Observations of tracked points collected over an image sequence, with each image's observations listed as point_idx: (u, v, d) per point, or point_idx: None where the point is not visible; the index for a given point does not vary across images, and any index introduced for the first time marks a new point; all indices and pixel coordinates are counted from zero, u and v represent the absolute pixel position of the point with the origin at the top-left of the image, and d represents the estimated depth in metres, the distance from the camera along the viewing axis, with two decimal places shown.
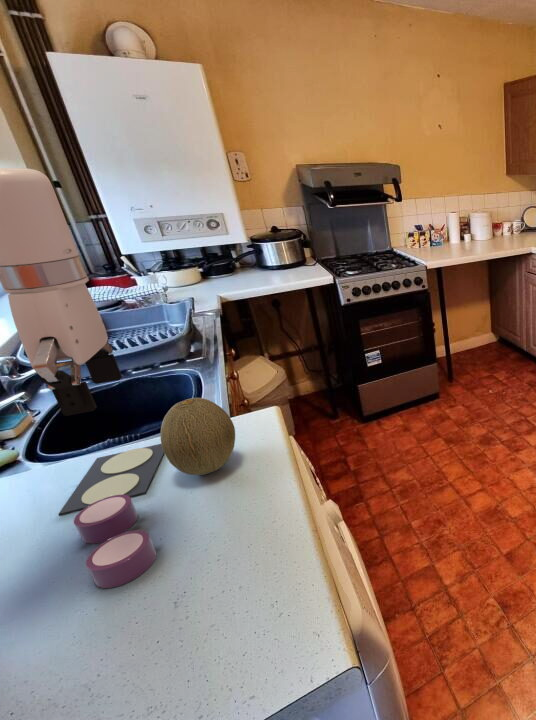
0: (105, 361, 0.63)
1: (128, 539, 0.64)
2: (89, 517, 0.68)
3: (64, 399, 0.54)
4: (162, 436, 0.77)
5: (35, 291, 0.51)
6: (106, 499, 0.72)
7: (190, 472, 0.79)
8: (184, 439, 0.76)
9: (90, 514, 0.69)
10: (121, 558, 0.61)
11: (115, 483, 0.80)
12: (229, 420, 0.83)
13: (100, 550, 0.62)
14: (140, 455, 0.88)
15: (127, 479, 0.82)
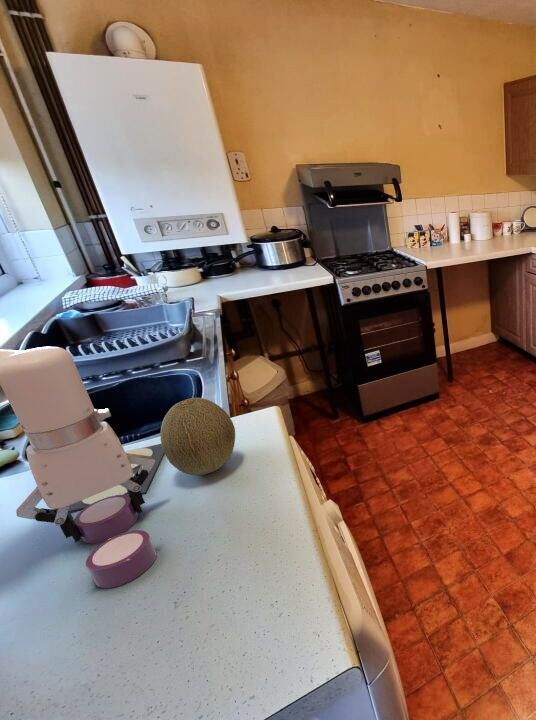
0: None
1: (128, 539, 0.64)
2: (89, 517, 0.68)
3: None
4: (162, 436, 0.77)
5: (33, 449, 0.62)
6: (106, 499, 0.72)
7: (190, 472, 0.79)
8: (184, 439, 0.76)
9: (90, 514, 0.69)
10: (121, 558, 0.61)
11: None
12: (229, 420, 0.83)
13: (100, 550, 0.62)
14: None
15: None
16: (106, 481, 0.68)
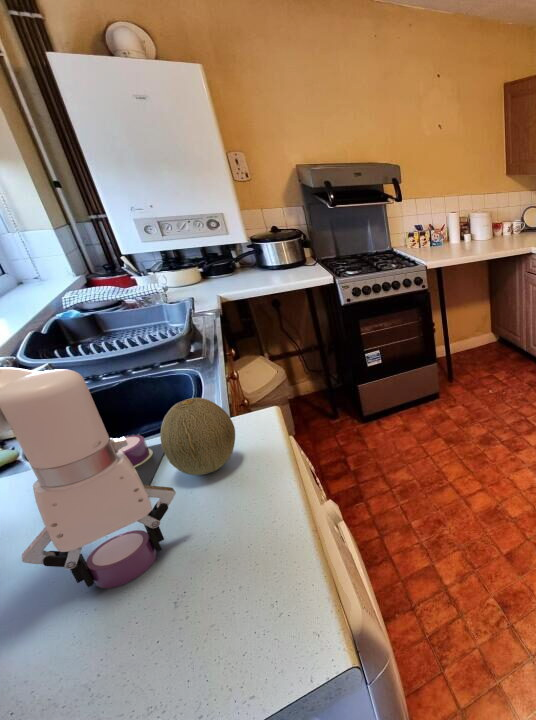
0: None
1: (128, 539, 0.64)
2: None
3: None
4: (162, 436, 0.77)
5: (41, 486, 0.55)
6: None
7: (190, 472, 0.79)
8: (185, 439, 0.76)
9: None
10: (121, 558, 0.61)
11: None
12: (229, 420, 0.83)
13: (100, 550, 0.62)
14: None
15: None
16: (122, 518, 0.60)
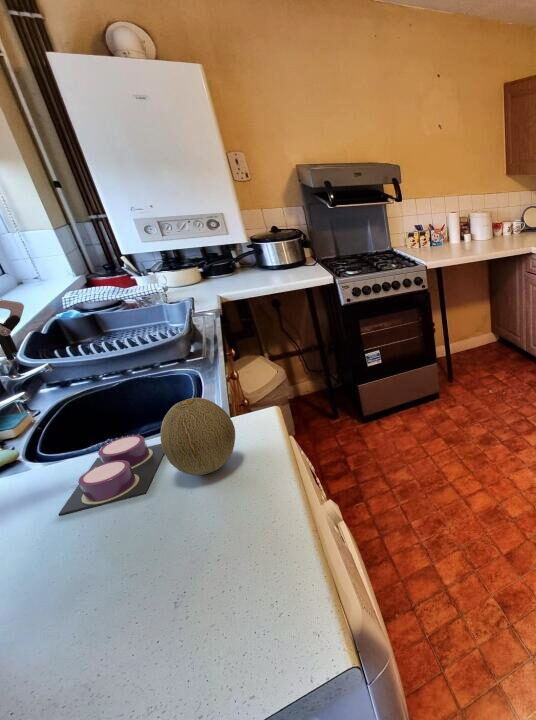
0: None
1: (113, 466, 0.80)
2: (110, 450, 0.84)
3: None
4: (162, 436, 0.77)
5: None
6: (123, 438, 0.88)
7: (190, 472, 0.79)
8: (184, 439, 0.76)
9: (111, 448, 0.85)
10: (106, 478, 0.76)
11: None
12: (229, 420, 0.83)
13: (89, 473, 0.78)
14: None
15: None
16: None
